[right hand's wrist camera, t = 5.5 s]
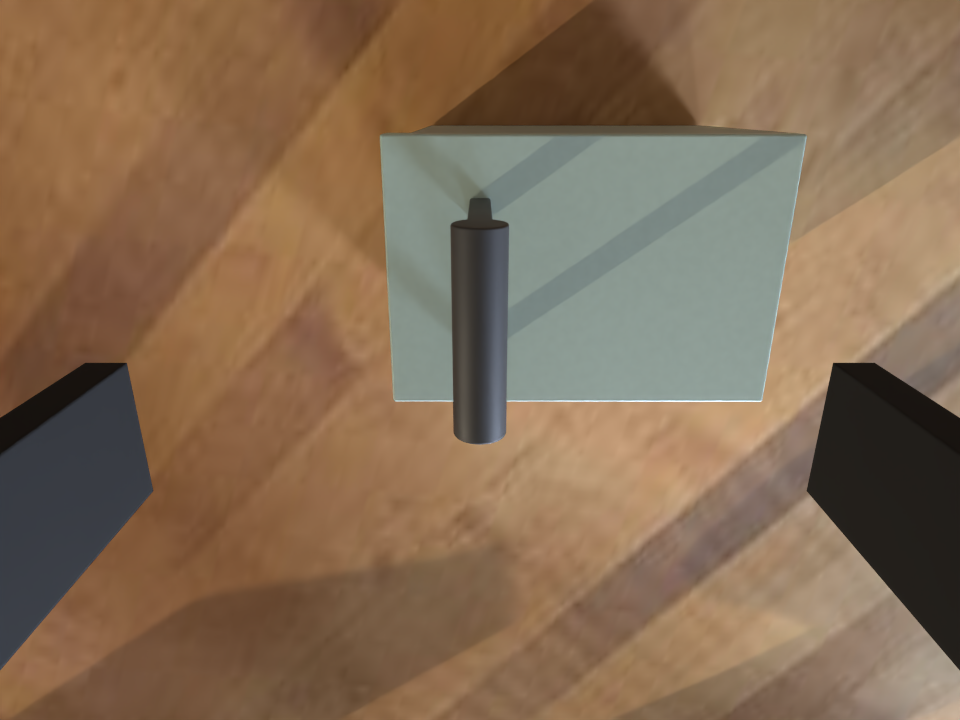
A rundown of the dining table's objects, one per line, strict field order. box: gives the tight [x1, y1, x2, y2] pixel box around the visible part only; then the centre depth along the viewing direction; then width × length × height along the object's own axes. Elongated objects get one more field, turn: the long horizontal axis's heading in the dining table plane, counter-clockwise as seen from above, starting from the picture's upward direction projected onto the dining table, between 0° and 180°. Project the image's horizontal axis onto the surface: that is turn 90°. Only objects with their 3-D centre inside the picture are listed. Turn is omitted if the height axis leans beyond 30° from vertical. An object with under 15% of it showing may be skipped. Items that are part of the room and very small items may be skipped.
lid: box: [380, 133, 807, 444], centre depth 20 cm, size 14×10×8 cm
